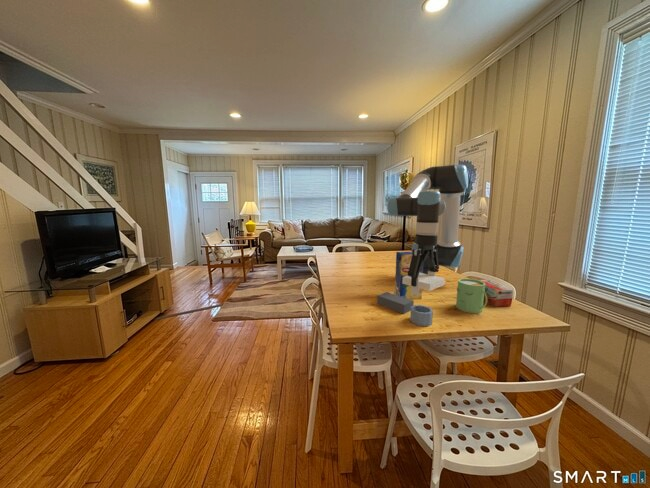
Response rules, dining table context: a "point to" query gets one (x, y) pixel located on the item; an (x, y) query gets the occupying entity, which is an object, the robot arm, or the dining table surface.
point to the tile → (426, 281)
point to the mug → (470, 295)
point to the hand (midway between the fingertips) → (422, 290)
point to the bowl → (421, 315)
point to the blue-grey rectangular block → (395, 302)
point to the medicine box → (497, 294)
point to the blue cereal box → (401, 271)
